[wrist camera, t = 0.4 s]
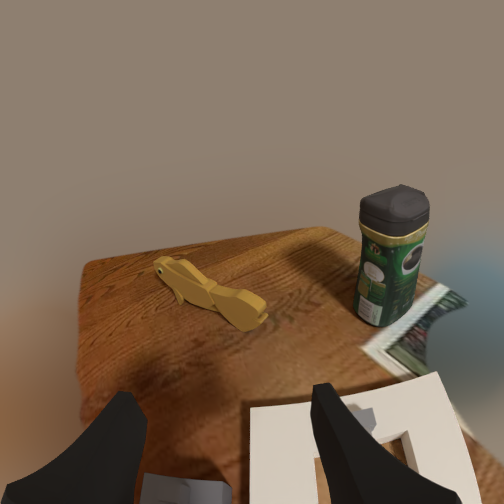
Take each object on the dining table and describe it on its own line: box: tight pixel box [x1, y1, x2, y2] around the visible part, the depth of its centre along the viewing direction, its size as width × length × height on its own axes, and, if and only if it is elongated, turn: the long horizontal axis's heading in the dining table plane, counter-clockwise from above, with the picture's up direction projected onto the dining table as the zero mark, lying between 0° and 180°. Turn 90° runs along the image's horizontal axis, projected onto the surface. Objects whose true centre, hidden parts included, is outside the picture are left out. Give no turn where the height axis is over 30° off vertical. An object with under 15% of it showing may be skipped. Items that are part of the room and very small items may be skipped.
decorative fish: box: [153, 256, 268, 332], centre depth 43 cm, size 22×3×10 cm, turn 54°
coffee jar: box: [353, 184, 430, 327], centre depth 34 cm, size 10×8×19 cm
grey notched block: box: [139, 472, 232, 504], centre depth 17 cm, size 4×8×6 cm, turn 90°
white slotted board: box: [250, 372, 482, 504], centre depth 16 cm, size 22×22×4 cm
